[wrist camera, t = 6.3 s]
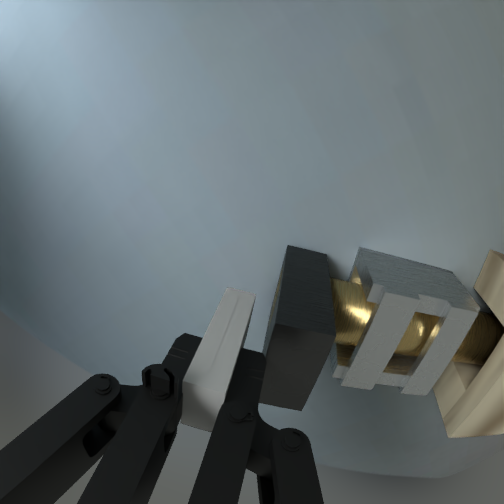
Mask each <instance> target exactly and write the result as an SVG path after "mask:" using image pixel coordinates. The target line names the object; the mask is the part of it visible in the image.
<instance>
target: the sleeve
mask: <svg viewBox="0 0 504 504" xmlns="http://www.w3.org/2000/svg"><path fill="white" fill-rule="evenodd" d="M348 282H352V283H357V284H361V285H362V287H363V291H364V294H365V297H366V301H368V302H373V303H375V306H374V308H373V310H372V313H371V315H370V317H369V319H368V322H367V324H366V326H365V328H364V330H363V333H362V335H361V337H360V339H359V341H358V343H357V345H356V347H355V346H349V345H344V344H339V343H333V345H332V348H331V350H330V351H331V369H332V377H335V378H340V386H346V387H353V388H360V389H367V390H372V389H373V387H374V385H375V384H382V385H390V386H399V390H400V393H401V394H412V395H424V396H426V395H427V394H428V393H429V391H430V390H431V388H432V387H433V386H434V384H435V383H436V381H437V380H438V379H439V377H440V376H441V374H442V373H443V371H444V370H445V368H446V367H447V365H448V364H449V362H450V361H451V359H452V358H453V356H454V354H455V353H456V351H457V350H458V348H459V346H460V345H461V343H462V341H463V340H464V338H465V336H466V335H467V333H468V331H469V329H470V328H471V326H472V324H473V322H474V321H475V319H476V317H477V315H478V312H479V310H480V307H479V306H478V304H477V303H476V302H475V300H474V299H473V298H472V296H471V295H470V294H469V293H468V291H467V290H466V289H465V287H464V286H463V285H462V284H461V282H460V281H459V280H458V279H457V277H456V276H455V275H454V274H453V272H451V271H448V270H444V269H441V268H437V267H433V266H430V265H426V264H422V263H419V262H415V261H411V260H407V259H404V258H400V257H396V256H392V255H388V254H384V253H381V252H377V251H373V250H369V249H365V248H361V247H359V250H358V253H357V256H356V259H355V262H354V265H353V268H352V271H351V274H350V277H349V279H348ZM415 312H420V313H425V314H430V315H435V316H440V318H439V319H438V321H437V323H436V325H435V327H434V329H433V331H432V332H431V334H430V336H429V338H428V340H427V341H426V343H425V345H424V347H423V348H422V350H421V352H420V353H419V355H418V357H416V356H409V355H402V354H396V353H394V352H395V350H396V348H397V346H398V344H399V342H400V341H401V339H402V337H403V335H404V333H405V331H406V329H407V327H408V325H409V323H410V321H411V319H412V317H413V315H414V313H415Z"/></svg>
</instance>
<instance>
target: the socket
mask: <svg viewBox="0 0 504 504" xmlns="http://www.w3.org/2000/svg"><path fill="white" fill-rule="evenodd" d="M474 289H475V290H476V291H477V292H478V294H479V295H480V296H481V297H482V299H483V300H484V301H485V302H486V304H487V305H488V306H489V308H490V309H491V310H492V311H493V313H494V314H495V315H496V317H497V318H498V319H499V321H500V322H501V324H502V325H503V326H504V254H501V253H499V252H496V251H493V250H490V251H489V253H488V256H487V258H486V261H485V263H484V265H483V268H482V270H481V272H480V275H479V277H478V279H477V281H476V283H475V285H474ZM432 388H433V390H434V393H435V396H436V399H437V403H438V406H439V409H440V412H441V415H442V419H443V422H444V425H445V429H446V432H447V436H448V438H460V437H475V436H487V435H497V434H504V334H503V336H502V338H501V339H500V341H499V343H498V344H497V346H496V347H495V349H494V351H493V352H492V354H491V355H490V357H489V358H488V360H487V361H486V363H485V364H484V365H481V364H471V363H462V362H453V361H450V362H449V364H448V365H447V367H446V368H445V370H444V371H443V373H442V374H441V376H440V377H439V379H438V380H437V381H436V383H435V384H434V386H433V387H432Z"/></svg>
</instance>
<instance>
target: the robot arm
mask: <svg viewBox="0 0 504 504" xmlns="http://www.w3.org/2000/svg"><path fill="white" fill-rule="evenodd" d="M255 297H256V294H254V293H250V292H246V291H242V290H238V289H234V288H230V287H227V288H226V290H225V293H224V295H223V297H222V299H221V301H220V303H219V305H218V307H217V309H216V311H215V314H214V316H213V318H212V320H211V322H210V324H209V326H208V328H207V330H206V332H205V335H204V337H203V338H201V337H197V336H194V335H190V334H187V333H184V334H182V335H181V336H179V337H178V338H176V340H175V342H174V343H173V345H172V347H171V349H170V350H169V352H168V355H167V356H166V357H165V359H164V361H163V362H162V364H153V365H150V366H147V367H146V368H145V369H144V370H143V371H142V382H143V385H140V386H129V385H120V384H119V381H118V380H117V379H116V378H115V377H113V376H111V375H109V374H96V375H94V376H92V377H90V378H89V379H88V380H87V381H86V382H84V383H83V384H82V385H81V386H79V387H78V388H77V389H76V390H74V391H73V392H72V393H71V394H69V395H68V396H67V397H66V398H64V399H63V400H62V401H61V402H60V403H58V404H57V405H56V406H55V407H53V408H52V409H51V410H49V411H48V412H47V413H46V414H45V415H43V416H42V417H41V418H40V419H38V420H37V421H36V422H35V423H34V424H32V425H31V426H30V427H29V428H27V429H26V430H25V431H24V432H22V433H21V434H20V435H19V436H17V437H16V438H15V439H14V440H13V441H11V442H10V443H9V444H8V445H6V446H5V447H4V448H3V449H2V450H0V504H54V503H55V502H56V501H57V500H58V499H59V498H60V497H61V496H62V495H63V494H64V493H65V492H66V491H67V490H68V489H69V488H70V487H71V486H72V485H73V484H74V483H75V482H76V481H77V480H78V479H79V478H81V476H83V475H84V474H85V473H86V472H87V471H88V470H89V469H90V468H91V467H92V466H93V465H94V464H95V463H96V462H97V461H98V460H99V459H100V458H101V457H102V455H103V457H102V459H101V461H100V463H99V464H98V466H97V468H96V470H95V472H94V474H93V476H92V477H91V479H90V481H89V483H88V484H87V486H86V488H85V490H84V492H83V494H82V496H81V497H80V499H79V501H78V503H77V504H148V502H149V499H150V496H151V494H152V492H153V489H154V487H155V485H156V482H157V480H158V477H159V475H160V473H161V470H162V468H163V465H164V463H165V461H166V458H167V456H168V453H169V451H170V449H171V446H172V444H173V441H174V439H175V436H176V434H177V426H178V423H179V421H180V419H181V423H182V424H185V425H188V426H191V427H195V428H198V429H202V430H205V431H208V432H212V434H211V437H210V440H209V443H208V446H207V449H206V452H205V455H204V458H203V461H202V464H201V467H200V470H199V473H198V476H197V479H196V481H195V484H194V487H193V490H192V494H191V496H190V499H189V502H188V504H238V499H239V495H240V491H241V487H242V483H243V478H244V474H245V470H246V469H248V470H250V471H252V472H254V473H256V474H257V482H258V493H259V501H260V504H324V502H323V498H322V493H321V488H320V484H319V480H318V475H317V470H316V466H315V462H314V457H313V453H312V448H311V444H310V441H309V439H308V437H307V436H306V435H305V434H304V433H303V432H302V431H300V430H297V429H294V428H284V429H281V430H278V429H276V428H274V427H272V426H270V425H268V424H267V423H265V422H264V421H263V420H262V419H261V417H260V415H259V412H258V403H259V399H260V394H261V389H262V384H263V379H264V374H265V369H266V363H267V362H266V359H265V356H264V353H261V352H256V351H252V350H248V349H244V348H243V346H244V343H245V340H246V336H247V332H248V328H249V323H250V319H251V315H252V310H253V306H254V302H255Z"/></svg>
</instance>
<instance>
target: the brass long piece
mask: <svg viewBox="0 0 504 504" xmlns="http://www.w3.org/2000/svg"><path fill="white" fill-rule="evenodd" d="M374 306H375V303H373V302H368V301H366V297H365V294H364V291H363V287H362V285H361V284H357V283H352V282H348V281H344V280H339V279H335V278H331V277H330V276H329V268H328V261H327V254H323V253H319V252H315V251H310V250H306V249H302V248H298V247H294V246H289V245H287V249H286V253H285V257H284V261H283V265H282V269H281V273H280V277H279V281H278V285H277V289H276V292H275V296H274V300H273V304H272V308H271V312H270V317H269V322H268V327H267V332H266V337H265V341H264V346H263V351H262V353H264V356H265V359H266V362H267V363H266V369H265V374H264V379H263V384H262V389H261V394H260V399H259V403H263V404H268V405H273V406H277V407H282V408H288V409H293V410H299V411H302V409H303V407H304V405H305V403H306V401H307V399H308V397H309V395H310V393H311V391H312V389H313V387H314V385H315V383H316V381H317V378H318V376H319V374H320V372H321V370H322V368H323V365H324V363H325V361H326V359H327V357H328V354H329V352H330V350H331V348H332V345H333V343H339V344H344V345H349V346H355V347H356V345H357V343H358V341H359V339H360V337H361V335H362V333H363V330H364V328H365V326H366V324H367V322H368V319H369V317H370V315H371V313H372V310H373V308H374ZM439 318H440V316H435V315H430V314H425V313H420V312H415V313H414V315H413V317H412V319H411V321H410V323H409V325H408V327H407V329H406V331H405V333H404V335H403V337H402V339H401V341H400V342H399V344H398V346H397V348H396V350H395V352H394V353H396V354H402V355H409V356H416V357H418V355H419V353H420V352H421V350H422V348H423V347H424V345H425V343H426V341H427V340H428V338H429V336H430V334H431V332H432V331H433V329H434V327H435V325H436V323H437V321H438V319H439ZM503 334H504V326H503V325H502V324H501V322H500V321H499V319H498V318H497V317H496V315H494V314H489V313H485V312H480V311H479V312H478V315H477V317H476V319H475V321H474V322H473V324H472V326H471V328H470V329H469V331H468V333H467V335H466V336H465V338H464V340H463V341H462V343H461V345H460V346H459V348H458V350H457V351H456V353H455V354H454V356H453V358H452V359H451V361H453V362H462V363H471V364H481V365H484V364H485V363H486V361H487V360H488V358H489V357H490V355H491V354H492V352H493V351H494V349H495V347H496V346H497V344H498V343H499V341H500V339H501V338H502V336H503Z"/></svg>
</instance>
